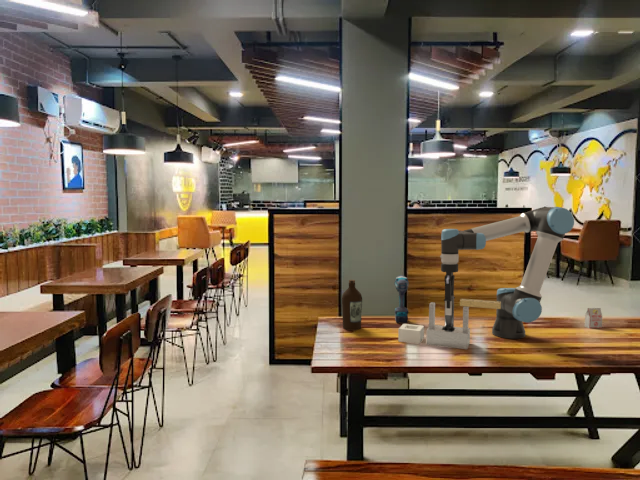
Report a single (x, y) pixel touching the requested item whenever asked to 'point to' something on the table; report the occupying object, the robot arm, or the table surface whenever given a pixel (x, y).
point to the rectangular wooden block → (480, 303)
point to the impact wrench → (401, 299)
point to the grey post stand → (448, 332)
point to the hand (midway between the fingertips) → (449, 313)
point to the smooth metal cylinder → (450, 318)
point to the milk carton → (593, 318)
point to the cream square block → (411, 333)
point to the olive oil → (351, 307)
